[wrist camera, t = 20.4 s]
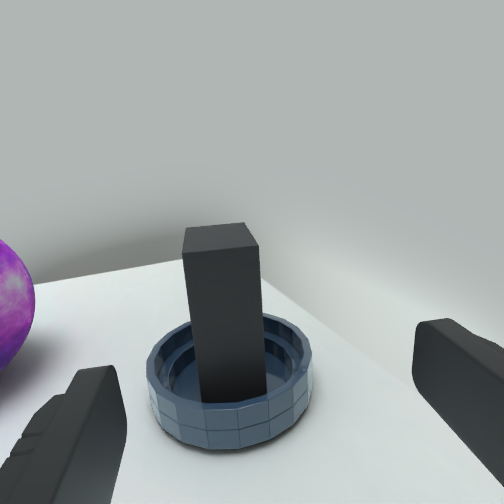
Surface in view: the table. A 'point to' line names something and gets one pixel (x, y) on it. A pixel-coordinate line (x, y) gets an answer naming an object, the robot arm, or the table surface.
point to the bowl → (230, 414)
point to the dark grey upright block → (225, 311)
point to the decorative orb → (14, 304)
